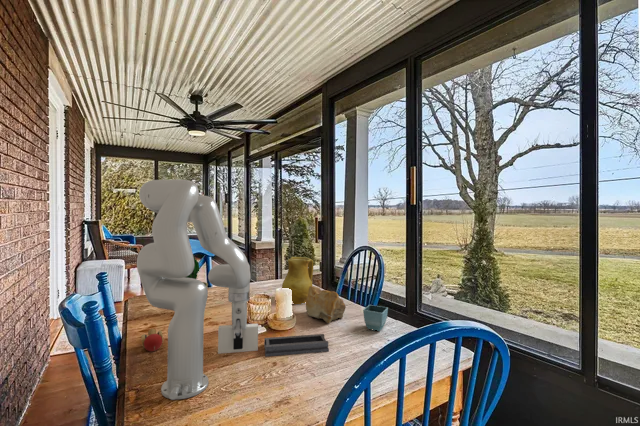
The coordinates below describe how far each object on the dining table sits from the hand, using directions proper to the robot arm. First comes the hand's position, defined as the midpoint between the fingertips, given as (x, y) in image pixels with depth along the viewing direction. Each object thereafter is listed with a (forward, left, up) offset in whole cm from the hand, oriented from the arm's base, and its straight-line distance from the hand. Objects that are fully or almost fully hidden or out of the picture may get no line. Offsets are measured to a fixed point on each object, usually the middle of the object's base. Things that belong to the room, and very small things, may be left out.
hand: (238, 344), depth 116 cm
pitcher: (+57, -31, -2) cm, 65 cm away
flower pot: (+11, -58, -2) cm, 59 cm away
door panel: (0, 0, -2) cm, 2 cm away
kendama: (+11, +32, -2) cm, 34 cm away
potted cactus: (+42, +24, -2) cm, 48 cm away
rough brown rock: (+28, -41, -2) cm, 50 cm away
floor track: (-2, -21, -2) cm, 21 cm away
